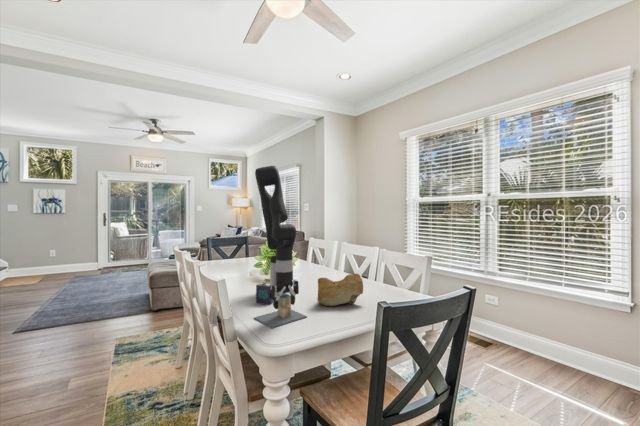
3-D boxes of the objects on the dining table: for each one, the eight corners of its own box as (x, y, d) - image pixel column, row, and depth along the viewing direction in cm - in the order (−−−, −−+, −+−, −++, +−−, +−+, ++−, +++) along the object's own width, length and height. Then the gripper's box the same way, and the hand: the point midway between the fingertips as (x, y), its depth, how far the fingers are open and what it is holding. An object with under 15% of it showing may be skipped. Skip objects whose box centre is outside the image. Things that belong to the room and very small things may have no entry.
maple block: (285, 313, 138) (285, 293, 138) (290, 315, 135) (290, 295, 135) (278, 315, 136) (277, 295, 135) (283, 317, 133) (283, 297, 132)
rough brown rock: (357, 297, 166) (355, 270, 167) (365, 305, 150) (364, 274, 150) (314, 301, 163) (313, 272, 164) (318, 309, 146) (317, 277, 147)
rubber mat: (287, 309, 145) (287, 308, 145) (306, 317, 135) (306, 316, 135) (254, 318, 133) (254, 317, 133) (271, 328, 123) (271, 326, 123)
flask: (274, 302, 155) (273, 281, 155) (271, 304, 152) (271, 283, 152) (257, 301, 158) (257, 280, 157) (254, 302, 155) (254, 281, 155)
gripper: (292, 266, 142) (292, 301, 143) (265, 270, 133) (265, 307, 133) (302, 268, 137) (302, 305, 137) (275, 273, 127) (275, 312, 128)
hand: (284, 306), depth 135 cm, fingers open, 8 cm apart
